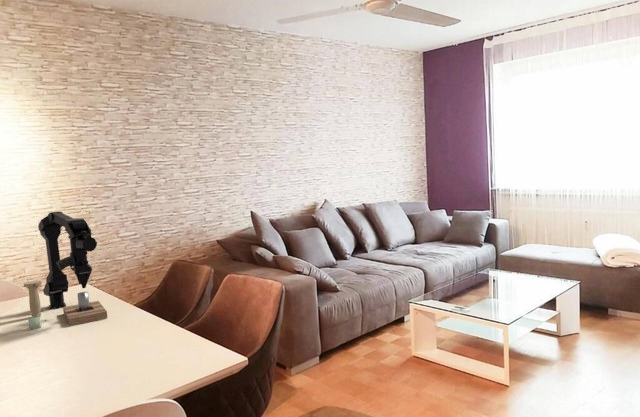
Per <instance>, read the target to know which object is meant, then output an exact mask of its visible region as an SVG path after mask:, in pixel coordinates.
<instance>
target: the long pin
mask: <svg viewBox="0 0 640 417" xmlns="http://www.w3.org/2000/svg"><path fill="white" fill-rule="evenodd" d="M89 299H90V297H89V292H88V291H81V292H78V293H77V302H78V304H79V312H83V311H88V310H90V307H89V302H90V300H89ZM78 304H77V305H78Z"/></svg>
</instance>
